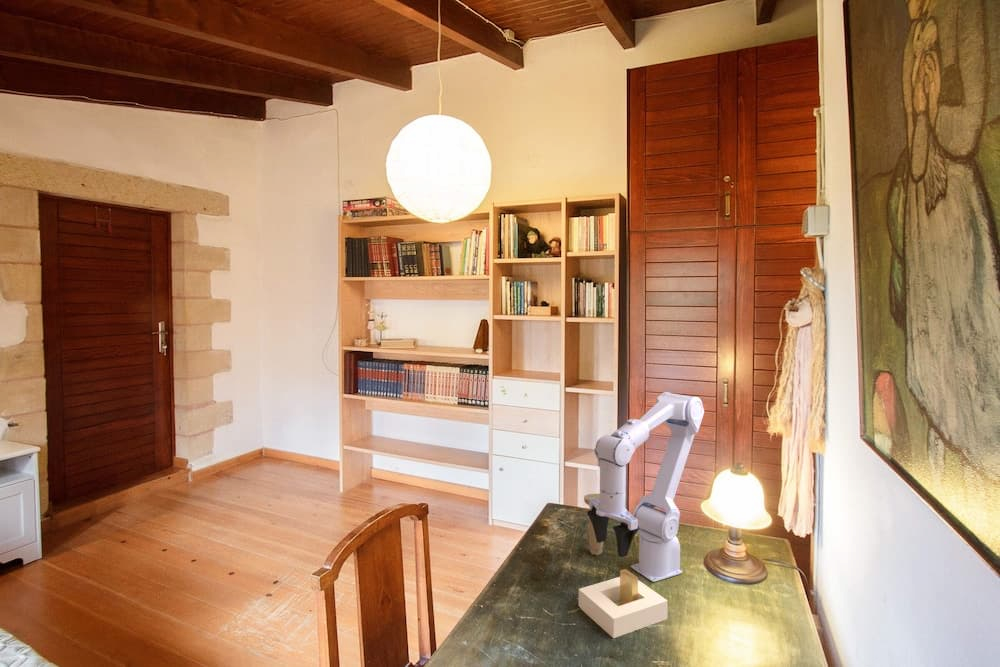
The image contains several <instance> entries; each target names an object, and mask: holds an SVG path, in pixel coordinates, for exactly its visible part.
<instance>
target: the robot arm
mask: <svg viewBox="0 0 1000 667" xmlns="http://www.w3.org/2000/svg"><path fill="white" fill-rule="evenodd" d="M704 415H705V409H704V405H703V402H702V400H701V398H700V397H697V396H690V395H682V394H677V393H672V392H669V391H664V392H662V393H661V394H660V395H658V396H657V397H656V401H655V404H654V405H653V406H652V407H651V408H650V409H648V411H646V413H645V414H643V415H642V416H641V417H640V418H639V419H638V418H629V419H628V420H627V421H626V423H625V424H623V425H621V426H620V427H619V428H618V429H616V430H615V431H614V432H613V433H612V434H610V435H609V434H605V435H603V436H601V437H599V439H597V441H596V444H595V448H593V452H594V455H595V457H596V459H597V466H598V467H599V494H600V499H598V498H596V497H595V498H591V499H589V505H588V507H589V508H590V507H591V508H592V510H590V509H589V510H588V511H587V512H586V514H587V517H588V518H589V520H591V522H592V525H593V528H594V532H595V536H596V540H597V542H598V543H600V542H606V540H607V536H608V535H607V534H608V524H609V520H610V519H612V520H615V521H617V522H619V523H620V524H618V525H614V526H612V528H613V531H614V533H615V536H616V537H615V538H616V546H617V554H618V557H620V558H623V557H626V556H628V554H629V552H630V551H629V550H630V547H631V544H632V542H633V539H634V537H635V536H636V534H639V535H638V536H639V541H638V542H639V543H638V547H639V550H638V552H639V553H638V555H639V556H638V563H634V564H632V565H631V566H630V567H631V568H632V569H633V570H634V571H635V572H637V573H638V574H640V575H642V576H643V577H644V578H646V579H647V580H649V581H650V582H652V583H655V582H658V581H659V582H660V581H663V580H664V579H667V578H671V577H674V576H678V575H681V574H683V570H682V569H681V544H680V541H679V538H678V537H677V534H678V531H679V522H680V516H681V512H680V510H679V508H678V506H677V505H676V503H675V502H674V500H675V496H676V493H677V490H678V488H679V485H680V480H681V478H682V475H683V471H684V469H685V467H686V466H685V465H686V462H687V459H688V457H689V454H690V450H691V447H692V444H693V441H694V438H695V435H696V434H698V433H699V429H700V427H701V423H702V420H703V417H704ZM663 423H664V424H665V426H666V427H667V428H669V429H670V433H671V435H670V438H669V440H668V443H667V446H666V449H665V452H664V455H663V458H662V461H661V464H660V467H659V470H658V473H657V476H656V479H655V482H654V484H653V488H652V491H651V492H650V493H648V494H646V495H644V496H642V497H641V496H640V499H639V502H638V504H637V506H636V507H635V508H634V510H633V512H632V514H631V512H629V511H628V509H627V508H626V500H627V499H626V497H627V496H626V495H627V494H626V490H627V488H626V486H627V481H626V480H627V464H629V462H630V461H631V459H632V456H633V454H634V453H635V451H636V450H637V448H638V447H640V446H641V445H642V444H644V443H645V442H646V441H647V440H648V439H649V437H650V431H652V430H653V429H655V428H657V427H658V426H660V425H661V424H663ZM658 508H659V509H658ZM660 509H661V510H660Z"/></svg>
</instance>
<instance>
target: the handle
mask: <svg viewBox="0 0 1000 667" xmlns="http://www.w3.org/2000/svg"><path fill="white" fill-rule="evenodd" d="M595 497H596V498H598V499H600V493H590V494H585V495H584V496H583V501H584V503H585V504H586V505H588V506H589V499H591V498H595ZM590 510H592V508H591V507H589V511H590ZM604 542H605V541H604ZM604 542H600V543H598V542H597V540H596V536H595V532H594V528H593V525H592V522H591V520H590V519H589V522H588V544H589V552H590V554H591V555H593V556H594V555H595V556H600V555H602V554H603V551H604V549H603V548H604Z"/></svg>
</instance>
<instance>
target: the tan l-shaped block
mask: <svg viewBox="0 0 1000 667" xmlns="http://www.w3.org/2000/svg"><path fill="white" fill-rule="evenodd" d="M619 577H620V602H617V603H615V604H616V605H617V606H621V605H624V604H627V603H630V602H633V601H636V600H638V580H639V576H636V575H635V574H633V573H632V572H631V571H629V570H628V569H627V568H625V569H621V570H619Z"/></svg>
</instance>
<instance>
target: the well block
mask: <svg viewBox="0 0 1000 667" xmlns="http://www.w3.org/2000/svg"><path fill="white" fill-rule="evenodd" d="M617 602H620V576H618V577H614V578H611V579H607V580H604V581H601V582H598V583H594V584H590V585H588V586H585V587H581V588H580V587H579V588H578V607H580V608H581V609H580V608H579V609H580V610H582V612H584V614H586V615H587V616H588V617H589V618H590V619H591V620H592V621H594V622H595V623H596V625H598V626H599V627H601V629H602V630H603V631H605V633H607V634H608V635H609V636H610V637H611V638H612V639H615V638H619V637H621V636H624V635H627V634H630V633H633V632H635V630H636V631H638V630H640V629H643V628H646V627H649V626H652V625H655V624H657V623H660V622H664V621H667V620H668V613H669V612H668V610H669V609H668V605H669V604H668V602H669V601H668V600H667V599H666V598H665V597H663V596H662V595H660V594H659V593H658V592H656V591H655V590H653V589H651V587H649V586H648V585H646V584H645V583H643V582H642V581H640V580H639V579H638V600H636V601H633V602H630V603H627V604H624V605H621V606H617V605H616V604H615V603H617Z"/></svg>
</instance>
